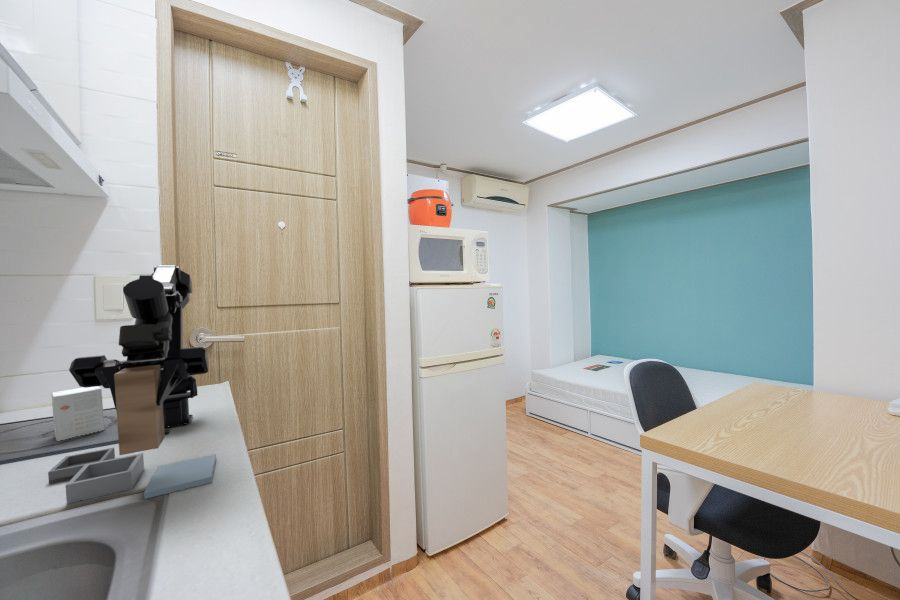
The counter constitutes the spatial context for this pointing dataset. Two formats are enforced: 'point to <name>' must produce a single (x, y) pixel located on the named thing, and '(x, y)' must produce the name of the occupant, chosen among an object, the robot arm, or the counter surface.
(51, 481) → the tray
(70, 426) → the small box
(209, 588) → the counter surface
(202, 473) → the pad
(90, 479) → the sleeve
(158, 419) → the walnut block
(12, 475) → the counter surface
